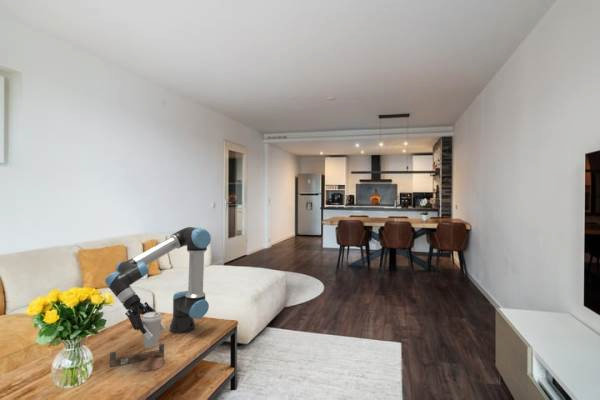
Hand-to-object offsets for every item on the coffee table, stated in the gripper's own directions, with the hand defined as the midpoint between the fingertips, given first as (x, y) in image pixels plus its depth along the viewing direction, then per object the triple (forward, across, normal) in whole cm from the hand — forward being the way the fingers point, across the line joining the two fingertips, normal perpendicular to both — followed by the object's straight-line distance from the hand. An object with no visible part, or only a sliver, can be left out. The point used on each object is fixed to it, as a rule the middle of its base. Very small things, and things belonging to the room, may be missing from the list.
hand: (157, 333), depth 158 cm
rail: (+5, +2, -17) cm, 18 cm away
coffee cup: (+2, 0, -6) cm, 7 cm away
